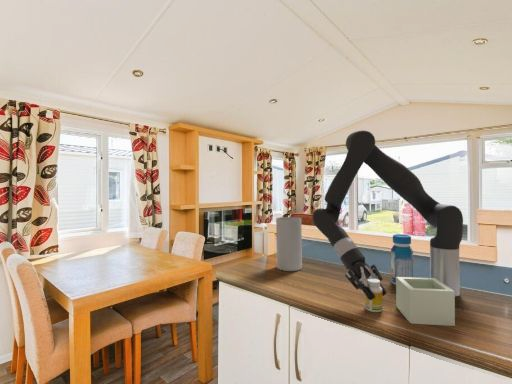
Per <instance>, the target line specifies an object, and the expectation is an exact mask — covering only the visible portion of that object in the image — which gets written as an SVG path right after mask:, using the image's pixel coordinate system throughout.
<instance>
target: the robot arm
mask: <svg viewBox="0 0 512 384" xmlns="http://www.w3.org/2000/svg"><path fill="white" fill-rule="evenodd" d="M345 146H346V149H347V153H346V155H345V159H344V161H343V164H342V165H341V167H340V168H339V170H338V172H337V173H336V174H335V175H334V177H333V179H332V181H331V183H330V184H329V186H328V189H327V191H326V194H325V195H324V201H325V203H326V207H325V208H320V207H319V208H317V209H315V210H314V211H313V212H312V221H313V224H314V226H315V227H316V228H317V230H318V231H320V233H322V234H323V235H324V236H325V238H327V240H328V242H329V243H330V245H331V247H332V248H333V249H334V251H335V254H336V255H337V256H338V258H339V260H340V261H341V262H342V265H343V266H344V268H345V269H346V270H348V271H347V272H346V273H345V274H344V276H345V278H346V279H347V280H348V281H349V282H350V284H351V285H352V286H353V287H354V288H355V289H356V290H361V291H362V292H363V293H364V296H365V295H366V296H367V298H368V299H369V300H372V299H374V298H375V295H374V294H373V292H372V291H371V289H370V288H369V287H367V285H368V284H367V279H371V278H373V279H378V280H380V287H381V288H382V291H383V297H384V296H385V295H387V291H386V289H385V287H384V286H383V285H382V283H381V282H382V280H383V277H382V275H381V273H380V272H379V269H378V268H377V266H376V264H372V265H369V264H368V263H366V257H365V256H364V254H363V252H362V251H361V249H359V247H358V246H357V244H356V243H355V242H354V241H353V240H352V238H351V237H350V236H349V234H348V233H347V231H346V229H344V228H343V227H342V226H340V225H338V224H337V222H338V221H339V218H340V214H341V210H342V204H343V202H344V201H345V198H346V196H347V195H348V192H349V190H350V189H351V186H352V183H353V181H354V180H355V177H356V175H357V174H358V172H359V171H360V169H361V167H362V166H363V164H364V163H365V165H367V167H369V168H370V169H371V170H372V171H373V172H374V173H375V174H376V175H377V176H378V178H380V179H381V180H382V181H383V182H384V183H385V184H386V185H387V186H388V187H389V188H390V189H391V190H393V191H394V192H395V193H396V194H397V195H398V196H399V197H400V198H402V199H404V201H405V202H407V204H409V205H411V206H412V207H413V208H414V209H415V210H416V211H417V212H418V214H420V216H422V217H421V218H423V219H424V220H425V221H426V223H428V224H429V225H430V226H432V227H434V228H436V234H435V236H434V237H432V238H430V239H429V270H430V271H429V278H435V279H437V280H438V281H440V282H441V283H443V284H444V285H446V286H447V287H449V288H450V289H452V290H453V291H455V298H456V297H459V296H460V284H461V283H460V246H461V245H460V244H461V242H462V239H463V228H464V227H463V226H464V217H463V212H462V211H461V209H460V208H459V207H457V206H455V205H452V204H442V203H440V202H438V200H437V201H436V200H435V199H434V198H433V197H431V195H429V194H428V192H426V190H425V189H424V187H423V185H422V183H421V180H420V179H419V178H418V177H417V175H415V174H414V172H412V170H411V169H410V168H408V167H407V166H406V165H404V164H403V163H401V162H400V161H399V160H396V159H395V158H393V157H391V156H390V155H388V154H387V153H385V152H384V151H382V150H381V149H380V148H379V147H378V146H377V145H376V138H375V136H374V134H373V133H372V132H371V131H369V130H365V129H364V130H363V129H361V130H356V131H353V132H351V133H350V134H349V135H348V136H347V137H346V140H345Z"/></svg>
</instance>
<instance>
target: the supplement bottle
mask: <svg viewBox="0 0 512 384" xmlns="http://www.w3.org/2000/svg"><path fill="white" fill-rule="evenodd" d="M366 283H367V287H369V288H370V289H371V291H372V292H373V294H374V295H375V298H374V299H372V300H369V299H368V298H367V296H366V295H365V294H364V308H365V310H366V311H369V312H371V313H381V312H382V311H383V302H384V299H383V297H384V296H383V291H382V288H381V287H380V283H381V282H380V280H378V279H373V278H371V279H367V280H366Z"/></svg>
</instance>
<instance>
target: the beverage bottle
mask: <svg viewBox="0 0 512 384" xmlns="http://www.w3.org/2000/svg"><path fill="white" fill-rule="evenodd" d="M392 243H393V244H394V245H393V246H392V247H391V249H390V253H391V255H390V262H391V264H390V265H391V267H390V268H391V269H390V270H391V271H390V272H391V274H390V275H391V277H390V282H391V283H392V284H394V285H395V286H396V277H414V256H413V254H414V250H413V249H412V246H411V244H412V235H409V234H402V233H401V234H399V233H397V234H395V233H394V234H393V235H392Z"/></svg>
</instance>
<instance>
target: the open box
mask: <svg viewBox="0 0 512 384" xmlns="http://www.w3.org/2000/svg"><path fill="white" fill-rule="evenodd" d="M395 292H396V293H395V295H396V296H395V297H396V299H395V300H396V301H395V302H396V303H395V304H396V305H395V306H396V308H397V309H398V310H399V311H400V313H401V314H402V315H403V317H405V319H406V320H407V321H408V323H409V324H410V323H411V324H413V325H414V324H415V325H433V326H450V327H451V326H453V327H455V326H456V323H455V322H456V319H455V318H456V307H455V306H456V303H455V302H456V301H455V300H456V297H455V291H453V290H452V289H450V288H449V287H447V286H446V285H444V284H443V283H441V282H440V281H438V280H437V279H435V278H430V277H414V276H413V277H396V285H395Z"/></svg>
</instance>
